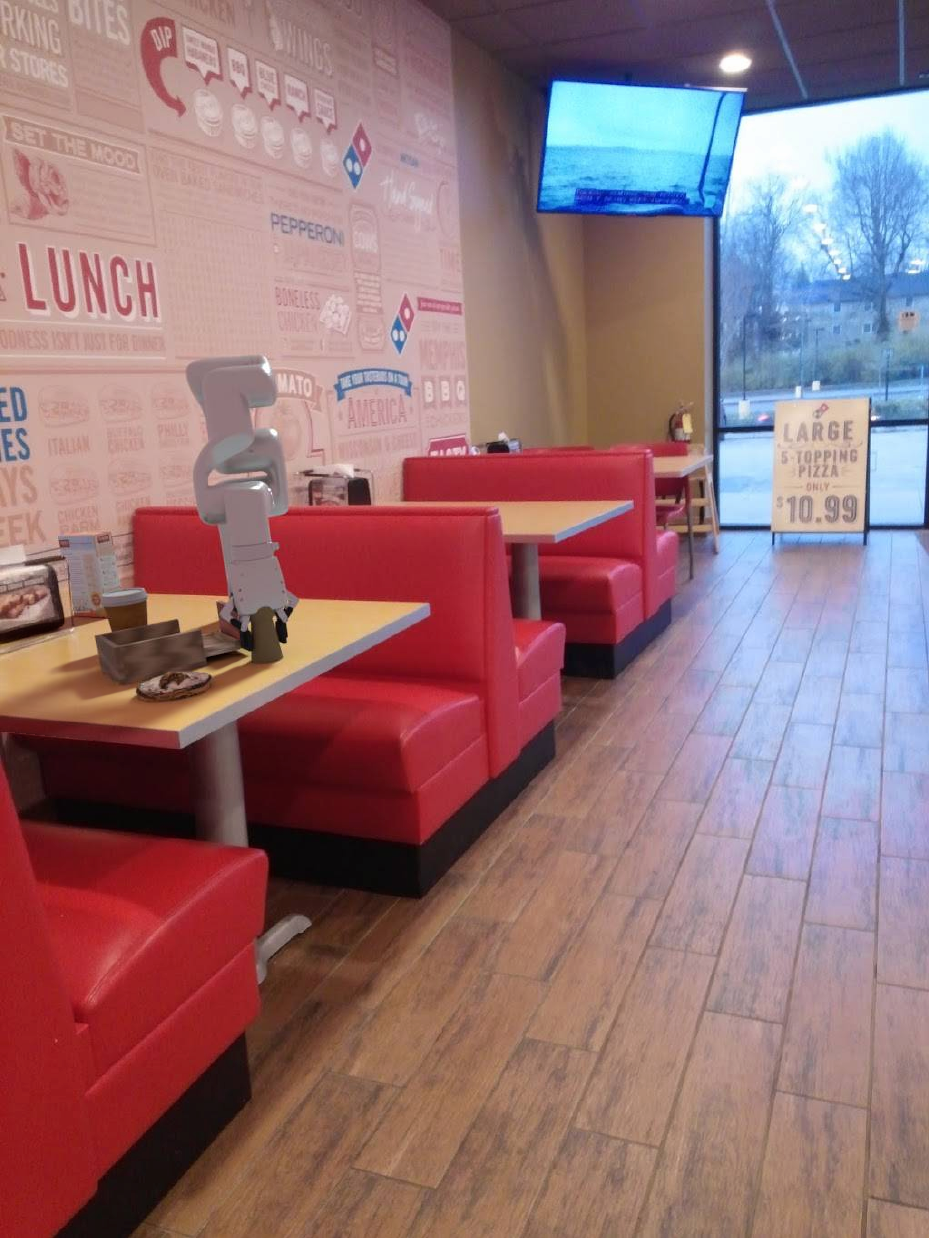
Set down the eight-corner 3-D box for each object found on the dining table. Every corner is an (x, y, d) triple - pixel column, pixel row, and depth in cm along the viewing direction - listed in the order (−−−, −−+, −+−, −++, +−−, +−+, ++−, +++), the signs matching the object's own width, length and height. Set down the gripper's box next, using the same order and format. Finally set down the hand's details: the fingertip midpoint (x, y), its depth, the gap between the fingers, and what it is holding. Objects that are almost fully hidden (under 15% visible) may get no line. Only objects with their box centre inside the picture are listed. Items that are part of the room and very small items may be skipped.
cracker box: (127, 613, 246) (112, 530, 241) (107, 618, 241) (91, 534, 236) (91, 611, 254) (76, 531, 249) (71, 616, 249) (56, 535, 244)
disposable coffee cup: (165, 641, 209) (156, 586, 206) (137, 653, 200) (127, 596, 198) (128, 642, 212) (119, 587, 210) (99, 653, 204) (89, 597, 201)
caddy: (182, 652, 198) (176, 618, 196) (206, 665, 185) (201, 629, 184) (101, 670, 189) (94, 635, 188) (121, 685, 177) (114, 647, 175)
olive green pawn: (276, 662, 182) (268, 605, 180) (246, 664, 184) (237, 606, 181) (288, 654, 188) (280, 598, 186) (258, 655, 189) (250, 599, 187)
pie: (184, 677, 180) (180, 655, 179) (237, 686, 171) (233, 663, 170) (113, 701, 169) (109, 678, 168) (166, 711, 160) (162, 687, 159)
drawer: (227, 638, 202) (221, 600, 200) (252, 649, 190) (246, 609, 188) (150, 655, 194) (143, 615, 192) (171, 667, 182) (164, 626, 180)
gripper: (287, 543, 189) (299, 634, 193) (200, 558, 180) (214, 653, 184) (303, 546, 183) (315, 639, 187) (213, 562, 174) (228, 659, 178)
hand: (265, 645), depth 185 cm, fingers open, 6 cm apart
